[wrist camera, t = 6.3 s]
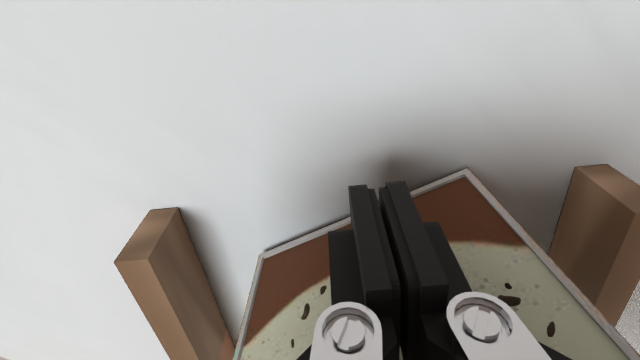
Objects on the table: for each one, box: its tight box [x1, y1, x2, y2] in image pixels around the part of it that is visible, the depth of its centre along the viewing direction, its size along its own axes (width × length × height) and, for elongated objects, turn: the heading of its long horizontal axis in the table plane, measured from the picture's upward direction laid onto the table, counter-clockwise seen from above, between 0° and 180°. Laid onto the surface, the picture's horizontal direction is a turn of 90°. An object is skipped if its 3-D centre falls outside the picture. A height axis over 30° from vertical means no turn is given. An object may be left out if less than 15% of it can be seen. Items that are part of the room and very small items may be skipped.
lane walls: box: [114, 164, 640, 360], centre depth 16 cm, size 18×13×3 cm
